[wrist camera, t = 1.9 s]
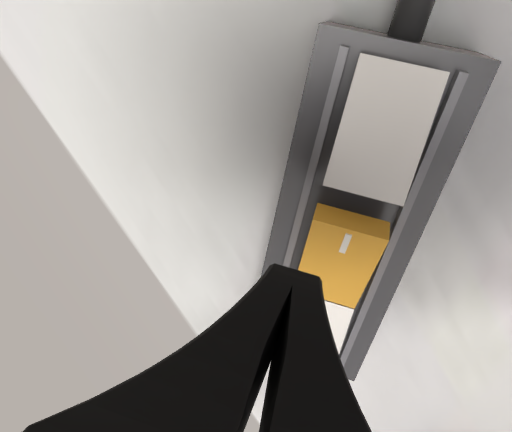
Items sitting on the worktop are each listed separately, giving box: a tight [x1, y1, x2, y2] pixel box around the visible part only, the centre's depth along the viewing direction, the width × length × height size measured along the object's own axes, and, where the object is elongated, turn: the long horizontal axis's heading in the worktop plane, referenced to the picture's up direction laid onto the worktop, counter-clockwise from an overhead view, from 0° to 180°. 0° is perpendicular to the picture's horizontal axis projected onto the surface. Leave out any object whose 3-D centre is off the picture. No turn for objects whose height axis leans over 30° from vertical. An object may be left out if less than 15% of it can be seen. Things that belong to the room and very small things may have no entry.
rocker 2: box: [323, 53, 450, 206], centre depth 13 cm, size 4×3×1 cm, turn 170°
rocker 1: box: [324, 300, 354, 353], centre depth 18 cm, size 4×3×1 cm, turn 170°
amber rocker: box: [298, 203, 390, 309], centre depth 16 cm, size 4×3×1 cm, turn 170°
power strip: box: [261, 0, 501, 381], centre depth 17 cm, size 21×6×4 cm, turn 170°
